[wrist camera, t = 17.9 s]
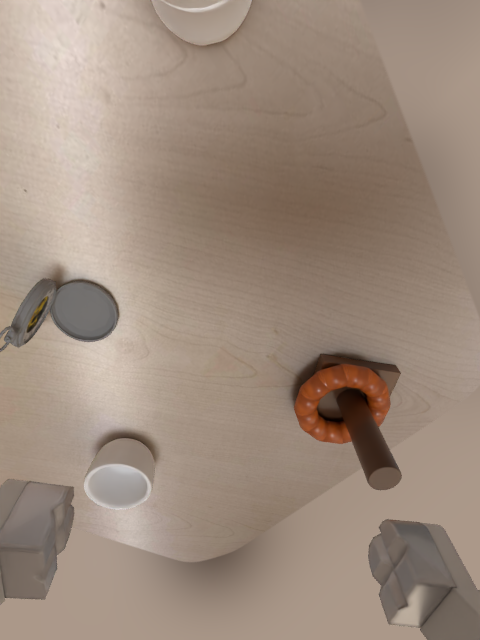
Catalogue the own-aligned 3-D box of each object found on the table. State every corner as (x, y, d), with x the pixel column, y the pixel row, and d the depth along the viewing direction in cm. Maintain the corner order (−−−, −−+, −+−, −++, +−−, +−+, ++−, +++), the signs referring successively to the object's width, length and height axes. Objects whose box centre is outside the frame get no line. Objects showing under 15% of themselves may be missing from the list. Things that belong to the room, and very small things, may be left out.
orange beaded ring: (398, 368, 42) (408, 381, 39) (366, 437, 46) (373, 452, 44) (308, 353, 40) (312, 366, 38) (284, 426, 45) (286, 441, 43)
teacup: (117, 419, 46) (104, 453, 41) (170, 446, 48) (164, 482, 43) (78, 466, 49) (62, 503, 44) (130, 490, 52) (120, 527, 47)
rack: (395, 365, 43) (453, 448, 32) (368, 424, 47) (411, 516, 36) (320, 353, 42) (353, 435, 31) (299, 415, 46) (321, 506, 35)
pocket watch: (125, 335, 40) (96, 394, 32) (46, 340, 40) (-5, 400, 32) (108, 262, 37) (70, 306, 28) (22, 267, 37) (-44, 313, 28)
